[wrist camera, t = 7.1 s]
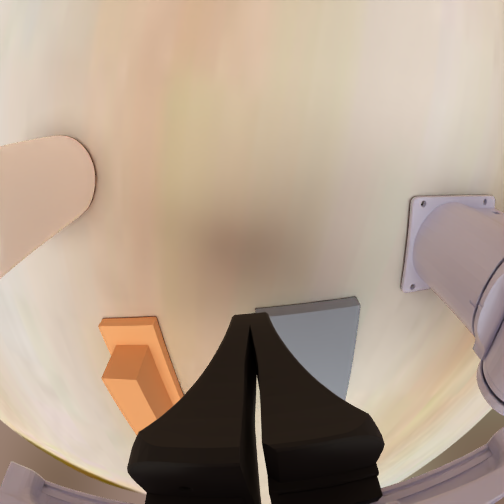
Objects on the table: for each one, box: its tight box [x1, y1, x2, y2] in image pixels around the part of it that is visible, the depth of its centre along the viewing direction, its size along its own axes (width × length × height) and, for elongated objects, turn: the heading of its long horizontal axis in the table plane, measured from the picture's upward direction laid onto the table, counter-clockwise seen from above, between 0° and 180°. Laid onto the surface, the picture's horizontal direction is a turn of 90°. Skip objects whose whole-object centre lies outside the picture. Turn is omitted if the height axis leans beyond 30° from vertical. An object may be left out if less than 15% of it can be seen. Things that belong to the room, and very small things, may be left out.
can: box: [0, 135, 95, 279], centre depth 13 cm, size 6×6×12 cm
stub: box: [98, 317, 184, 435], centre depth 23 cm, size 5×12×5 cm, turn 5°
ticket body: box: [255, 297, 360, 400], centre depth 25 cm, size 8×12×1 cm, turn 5°
